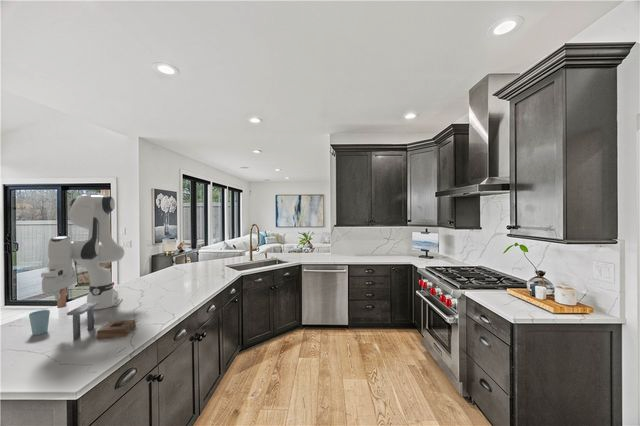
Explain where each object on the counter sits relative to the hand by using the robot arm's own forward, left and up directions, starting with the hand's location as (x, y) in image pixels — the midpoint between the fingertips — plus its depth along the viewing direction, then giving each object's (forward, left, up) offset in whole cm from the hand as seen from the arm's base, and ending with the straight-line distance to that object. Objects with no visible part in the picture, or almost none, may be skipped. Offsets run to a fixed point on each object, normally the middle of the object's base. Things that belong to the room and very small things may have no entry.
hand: (61, 297), depth 146 cm
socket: (+4, +26, -19) cm, 32 cm away
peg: (0, 0, -5) cm, 5 cm away
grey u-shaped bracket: (+1, +10, -19) cm, 21 cm away
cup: (-6, -13, -19) cm, 23 cm away
